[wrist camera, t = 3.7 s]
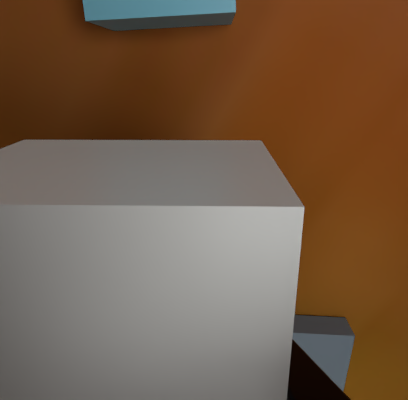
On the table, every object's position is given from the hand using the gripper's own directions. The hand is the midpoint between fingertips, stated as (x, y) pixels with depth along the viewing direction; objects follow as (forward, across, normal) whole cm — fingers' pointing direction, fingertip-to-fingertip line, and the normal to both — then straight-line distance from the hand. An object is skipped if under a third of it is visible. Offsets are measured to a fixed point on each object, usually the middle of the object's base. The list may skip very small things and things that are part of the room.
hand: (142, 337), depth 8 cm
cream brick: (+1, 0, 0) cm, 1 cm away
